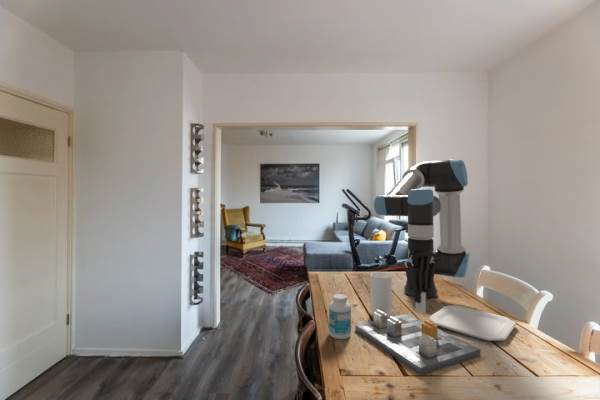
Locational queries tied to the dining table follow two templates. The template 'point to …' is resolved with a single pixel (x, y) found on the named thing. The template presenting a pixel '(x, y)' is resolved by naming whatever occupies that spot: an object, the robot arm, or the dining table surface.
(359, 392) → the dining table surface
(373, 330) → the panel
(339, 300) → the pill bottle
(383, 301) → the cup
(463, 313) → the plate
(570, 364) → the dining table surface
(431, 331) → the block
